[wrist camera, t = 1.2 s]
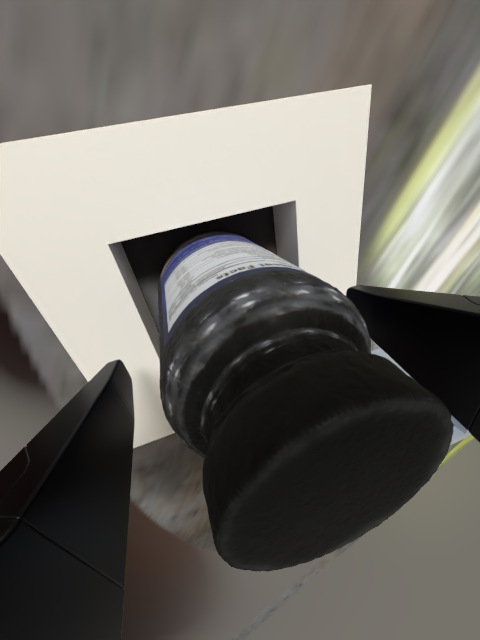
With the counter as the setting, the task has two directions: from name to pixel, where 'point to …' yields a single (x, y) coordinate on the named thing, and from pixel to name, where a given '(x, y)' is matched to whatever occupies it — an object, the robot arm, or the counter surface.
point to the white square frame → (175, 213)
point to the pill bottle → (286, 404)
